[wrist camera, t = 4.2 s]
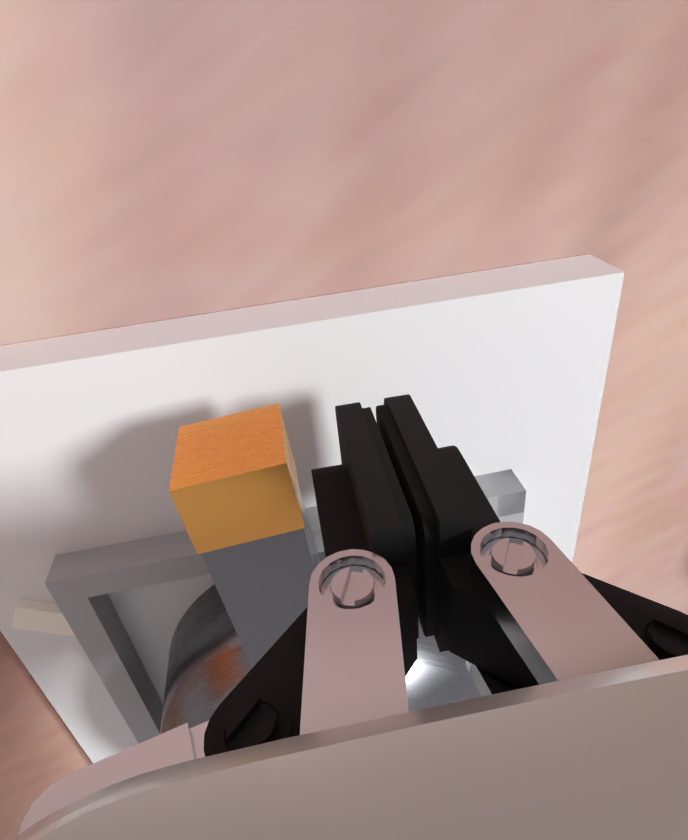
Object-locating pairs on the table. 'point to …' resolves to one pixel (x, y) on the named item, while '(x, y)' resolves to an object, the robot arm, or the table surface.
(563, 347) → the panel
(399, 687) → the robot arm
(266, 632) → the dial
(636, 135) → the table surface
